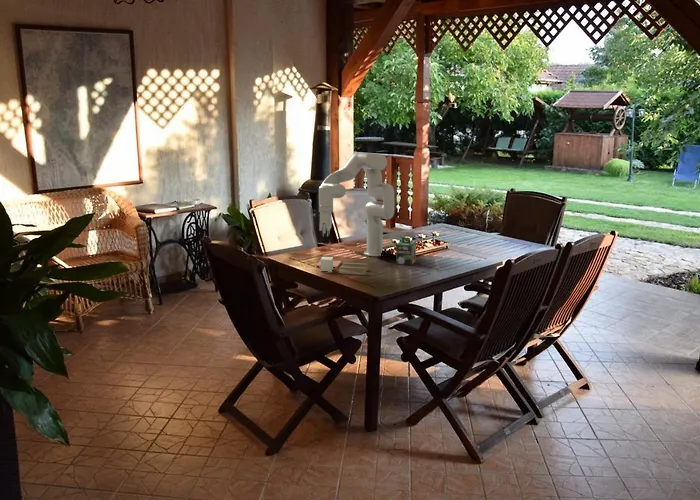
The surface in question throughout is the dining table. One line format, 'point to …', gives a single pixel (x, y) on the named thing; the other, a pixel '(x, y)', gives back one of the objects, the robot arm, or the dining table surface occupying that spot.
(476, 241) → the dining table surface
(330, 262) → the cream block
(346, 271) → the slot rack
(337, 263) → the terracotta tile
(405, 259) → the chalk box
